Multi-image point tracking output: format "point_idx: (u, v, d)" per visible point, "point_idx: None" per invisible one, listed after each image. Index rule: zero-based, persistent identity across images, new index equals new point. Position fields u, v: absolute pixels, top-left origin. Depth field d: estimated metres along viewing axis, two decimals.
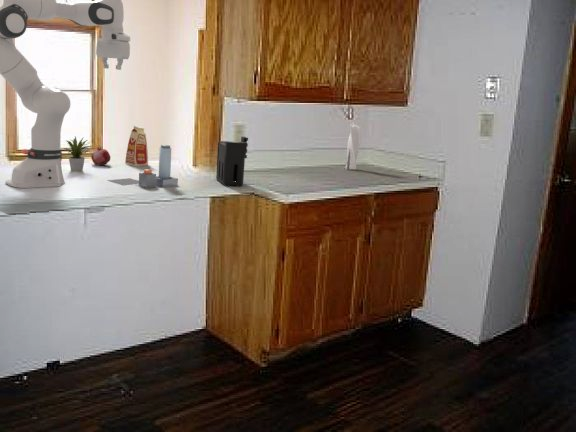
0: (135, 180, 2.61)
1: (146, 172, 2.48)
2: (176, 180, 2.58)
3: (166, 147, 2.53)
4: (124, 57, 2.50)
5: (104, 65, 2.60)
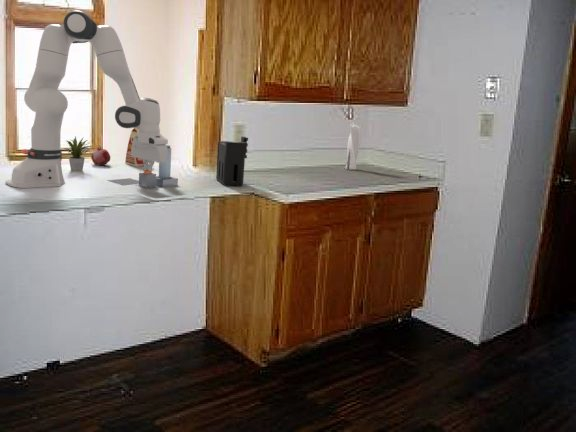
0: (135, 180, 2.61)
1: (146, 173, 2.48)
2: (176, 180, 2.58)
3: None
4: (162, 161, 2.42)
5: (146, 167, 2.50)
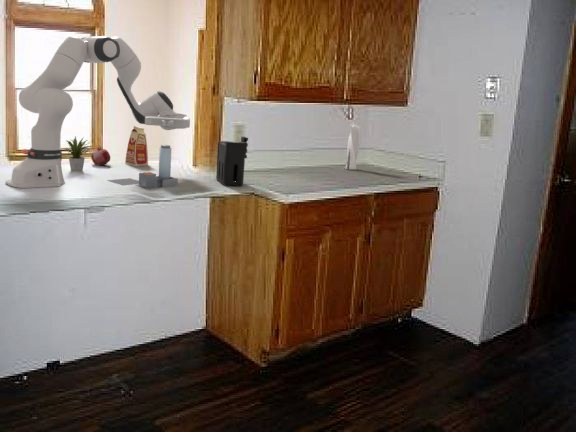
0: (135, 180, 2.61)
1: None
2: (176, 180, 2.58)
3: (166, 147, 2.53)
4: (189, 122, 2.70)
5: (165, 121, 2.65)
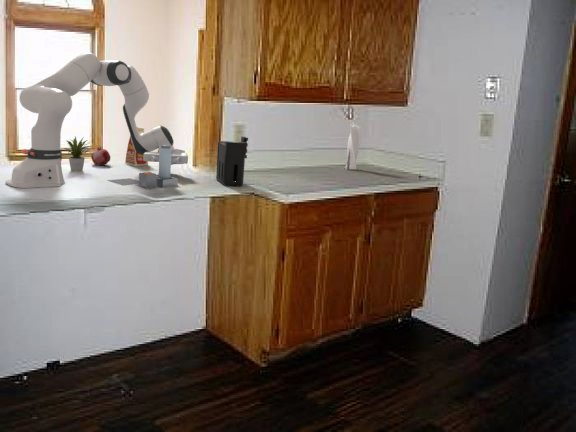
0: (135, 180, 2.61)
1: None
2: (176, 180, 2.58)
3: (166, 147, 2.53)
4: (187, 158, 2.74)
5: (155, 157, 2.67)
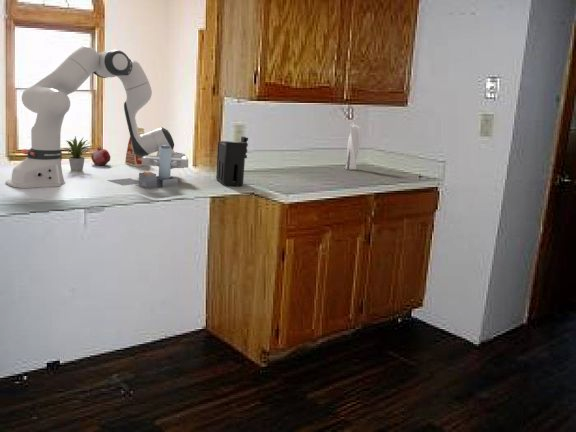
0: (135, 180, 2.61)
1: None
2: (176, 180, 2.58)
3: (166, 147, 2.53)
4: (187, 162, 2.62)
5: (157, 161, 2.56)
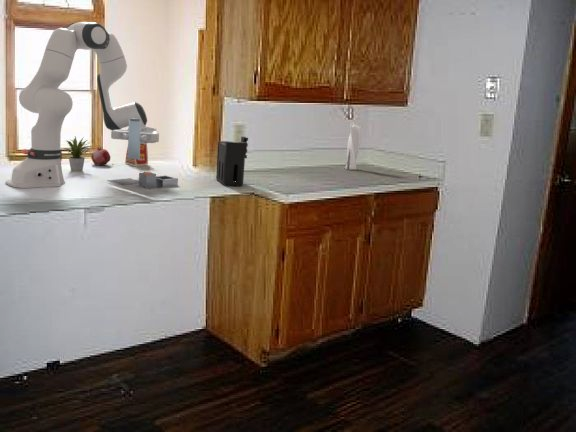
0: (135, 180, 2.61)
1: None
2: (176, 180, 2.58)
3: (135, 120, 2.49)
4: (158, 136, 2.58)
5: (126, 134, 2.52)
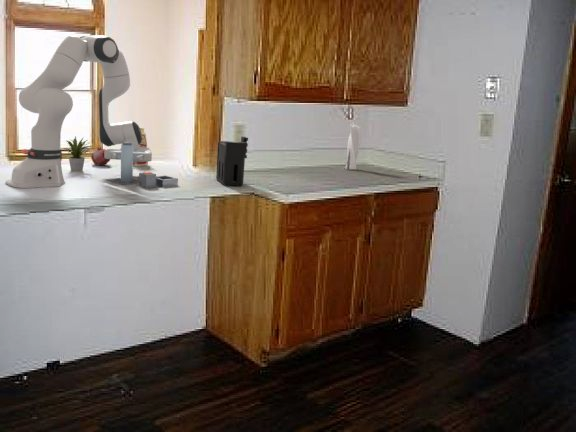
0: (135, 180, 2.61)
1: None
2: (176, 180, 2.58)
3: (127, 144, 2.52)
4: (151, 155, 2.61)
5: (116, 154, 2.54)
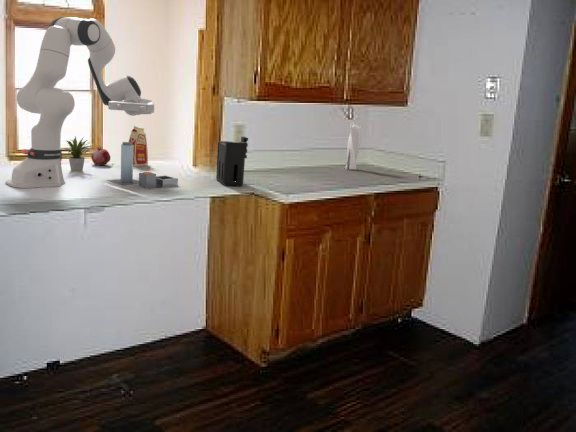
0: (135, 180, 2.61)
1: None
2: (176, 180, 2.58)
3: (127, 144, 2.52)
4: (153, 107, 2.68)
5: (119, 104, 2.62)
